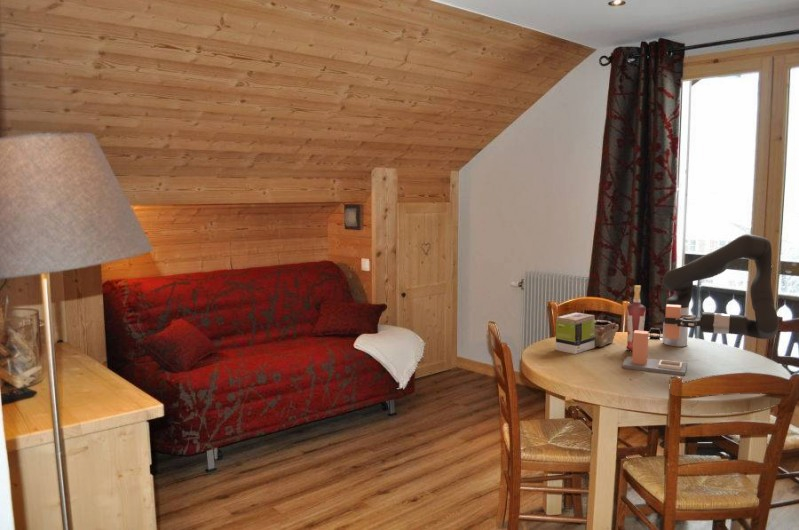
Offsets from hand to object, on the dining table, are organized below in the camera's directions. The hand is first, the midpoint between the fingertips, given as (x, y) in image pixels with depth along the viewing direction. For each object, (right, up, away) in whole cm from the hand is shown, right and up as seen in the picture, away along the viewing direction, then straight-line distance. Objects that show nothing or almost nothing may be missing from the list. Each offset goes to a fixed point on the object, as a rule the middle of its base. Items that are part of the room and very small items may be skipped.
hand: (665, 319), depth 241 cm
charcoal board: (-3, -19, +4) cm, 19 cm away
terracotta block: (+2, -7, 0) cm, 7 cm away
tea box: (-26, -16, +31) cm, 43 cm away
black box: (+17, -14, +52) cm, 57 cm away
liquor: (-1, -16, +28) cm, 32 cm away
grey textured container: (-12, -14, +43) cm, 47 cm away
